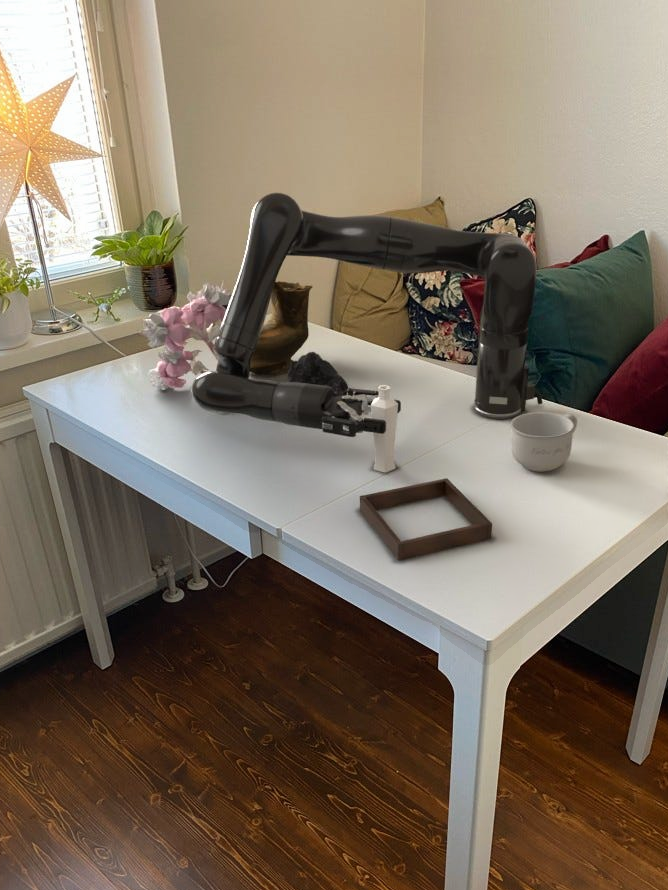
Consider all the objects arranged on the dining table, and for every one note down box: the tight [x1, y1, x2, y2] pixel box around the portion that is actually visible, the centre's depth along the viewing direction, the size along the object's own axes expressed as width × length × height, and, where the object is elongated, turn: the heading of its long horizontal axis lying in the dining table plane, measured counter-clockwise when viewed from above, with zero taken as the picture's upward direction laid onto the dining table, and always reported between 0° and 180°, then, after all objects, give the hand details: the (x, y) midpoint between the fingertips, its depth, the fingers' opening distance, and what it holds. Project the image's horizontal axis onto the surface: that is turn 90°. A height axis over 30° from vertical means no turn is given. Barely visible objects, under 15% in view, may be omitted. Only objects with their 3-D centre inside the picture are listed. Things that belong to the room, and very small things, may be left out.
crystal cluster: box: [286, 351, 350, 396], centre depth 176 cm, size 13×14×10 cm
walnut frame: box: [359, 477, 493, 561], centre depth 137 cm, size 16×16×3 cm
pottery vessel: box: [220, 280, 314, 377], centre depth 188 cm, size 25×11×20 cm, turn 138°
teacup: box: [510, 411, 578, 473], centre depth 154 cm, size 14×11×8 cm
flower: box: [136, 278, 232, 391], centre depth 177 cm, size 20×22×25 cm
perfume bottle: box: [370, 384, 398, 474], centre depth 150 cm, size 5×4×15 cm
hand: (393, 416), depth 149 cm, fingers open, 8 cm apart
